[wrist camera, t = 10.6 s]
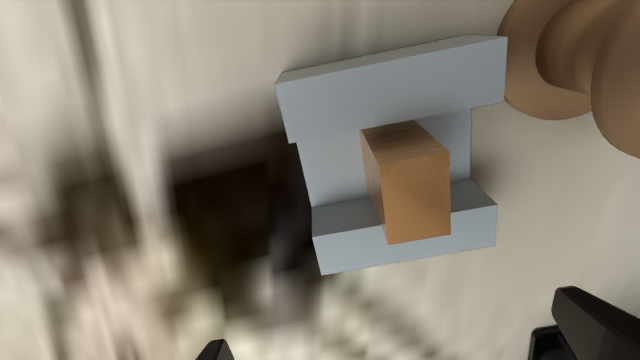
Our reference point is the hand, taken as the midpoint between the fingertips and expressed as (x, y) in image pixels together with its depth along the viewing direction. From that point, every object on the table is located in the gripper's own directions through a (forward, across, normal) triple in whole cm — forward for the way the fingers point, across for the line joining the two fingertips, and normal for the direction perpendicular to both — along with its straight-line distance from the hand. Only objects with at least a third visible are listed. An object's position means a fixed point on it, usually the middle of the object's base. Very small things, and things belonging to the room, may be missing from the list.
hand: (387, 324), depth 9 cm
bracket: (+12, -2, 0) cm, 12 cm away
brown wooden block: (+11, -2, 0) cm, 12 cm away
